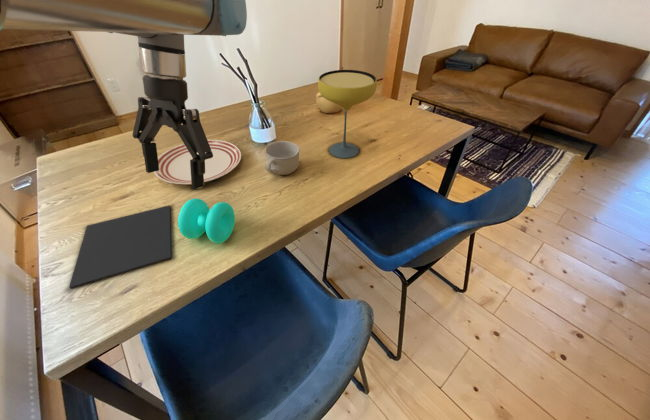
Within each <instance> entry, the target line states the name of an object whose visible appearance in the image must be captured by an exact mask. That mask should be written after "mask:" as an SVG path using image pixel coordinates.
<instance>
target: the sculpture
mask: <svg viewBox="0 0 650 420" xmlns="http://www.w3.org/2000/svg"><path fill="white" fill-rule="evenodd" d="M315 99H316V104H317V106H318V108H319V110H320V111H321V112H323V113H324V114H325V113H326V114H334V113H338V112H340V111H341V110H342V108H341V107H340V106H339V105H338V104H335V103H333V102H331V101H329V100H327V99H325V98H324V97H323V96H322V95H321V94H320V92H319V91H318V92H317V93H316V95H315Z"/></svg>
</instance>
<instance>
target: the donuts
mask: <svg viewBox="0 0 650 420" xmlns="http://www.w3.org/2000/svg"><path fill="white" fill-rule="evenodd" d="M235 221H236V215H235V211H234V208H233V207H232V205H231V204H230V203H228V202H226V201H219V202H217V203H215V204H214V205H212V206H211V208H209V205H208V203H207V202H206V201H204V200H203V199H201V198H191V199H189V200H187V201H186V202H185V203H184V204H183V205H182V206H181V208H180V211H179V213H178V217H177V226H178V230H179V232H180V234H181V235H182V236H183V237H184V238H186V239H188V240H195V239H197V238H200V237H202V236H203V234H206V236H207V238H208V240H210V241H211V242H212V243H214V244H222V243H224V242H226V241H227V240H228V239H229V238H230V236H231V235H232V233H233V231H234V227H235Z"/></svg>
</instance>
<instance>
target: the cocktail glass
mask: <svg viewBox="0 0 650 420" xmlns="http://www.w3.org/2000/svg"><path fill="white" fill-rule="evenodd" d="M377 83H378V81H377V76H375V75H374V74H372V73H370V72H367V71H363V70H356V69H336V70H331V71H330V70H329V71H327V72H324V73H322V74H320V75H319V77H318V80H317V88H318V92H320V94H321V95H322V96H323V97H324V98H325V99H327V100H329V101H331V102H333V103H335V104H338V105H339V106H340V107H341V110H342V111H343V112H344V120H343V121H344V124H343V139H342V142H337V143H334V144H332V145H331V146H330V147H329V151H328V152H329V153H330V155H332V157H333V156H334V157H335V158H338V159H350V158H351V159H352V158H354V157H356V156H357V155H358V154H359V153H360V150H359V147H358V146H357V145H355V144H353V143H350V142H347V140H346V139H347V118H348V117H347V115H348V111H350V110H351V108H352V107H354V106H355V105H358V104H361V103H364V102H366V101H368V100H369V99H371V98H372V97H373V96H374V95H375V94H376V90H377V86H378V85H377Z"/></svg>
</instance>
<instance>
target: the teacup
mask: <svg viewBox="0 0 650 420" xmlns="http://www.w3.org/2000/svg"><path fill="white" fill-rule="evenodd" d="M264 153H265V159H266V160H265V161H266V162H265V169H266V171H267V173H268V172H269V173H271V174H275V175H276V174H277V175H281V176H286V175H290V174H292V173H294V172H295V171H296V170H297V169H298V167H299V164H300V147H299V146H298V144H296V143H295V142H292V141H287V140H277V141H273V142H269V144H267V145H266V146H265V148H264Z"/></svg>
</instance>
